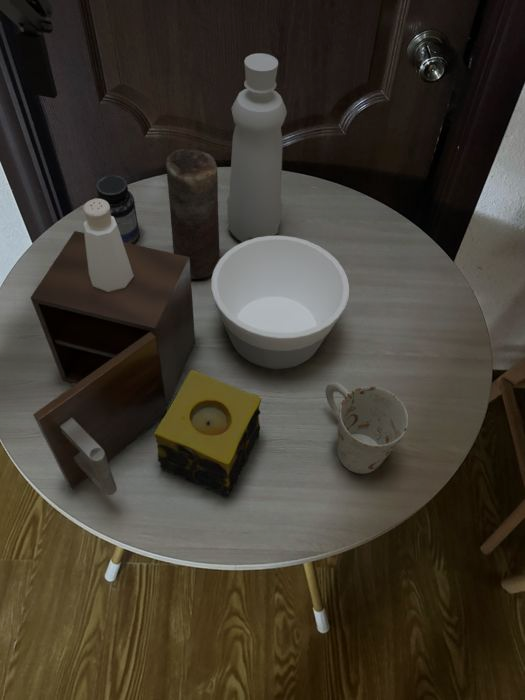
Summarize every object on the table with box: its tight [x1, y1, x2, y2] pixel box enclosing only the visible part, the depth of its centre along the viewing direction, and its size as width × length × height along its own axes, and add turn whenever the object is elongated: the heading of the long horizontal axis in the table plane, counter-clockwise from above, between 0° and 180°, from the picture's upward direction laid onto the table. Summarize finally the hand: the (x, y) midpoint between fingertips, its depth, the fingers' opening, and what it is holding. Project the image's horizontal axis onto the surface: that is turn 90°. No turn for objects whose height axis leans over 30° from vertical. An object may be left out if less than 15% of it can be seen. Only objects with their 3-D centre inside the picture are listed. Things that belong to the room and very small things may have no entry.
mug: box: [325, 381, 409, 475], centre depth 79 cm, size 8×13×10 cm, turn 36°
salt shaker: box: [82, 198, 134, 292], centre depth 71 cm, size 5×5×11 cm
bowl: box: [210, 235, 350, 370], centre depth 89 cm, size 19×19×11 cm
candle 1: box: [165, 148, 221, 280], centre depth 93 cm, size 8×7×20 cm
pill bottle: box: [95, 174, 140, 245], centre depth 100 cm, size 6×6×11 cm
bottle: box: [226, 52, 288, 243], centre depth 95 cm, size 9×9×30 cm
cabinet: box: [30, 230, 196, 408], centre depth 82 cm, size 12×16×18 cm
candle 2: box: [153, 369, 262, 498], centre depth 77 cm, size 10×10×10 cm
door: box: [32, 332, 168, 496], centre depth 73 cm, size 7×16×17 cm, turn 136°
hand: (14, 129), depth 64 cm, fingers open, 13 cm apart
